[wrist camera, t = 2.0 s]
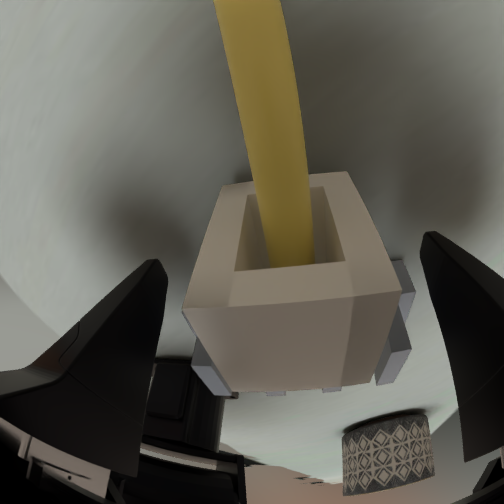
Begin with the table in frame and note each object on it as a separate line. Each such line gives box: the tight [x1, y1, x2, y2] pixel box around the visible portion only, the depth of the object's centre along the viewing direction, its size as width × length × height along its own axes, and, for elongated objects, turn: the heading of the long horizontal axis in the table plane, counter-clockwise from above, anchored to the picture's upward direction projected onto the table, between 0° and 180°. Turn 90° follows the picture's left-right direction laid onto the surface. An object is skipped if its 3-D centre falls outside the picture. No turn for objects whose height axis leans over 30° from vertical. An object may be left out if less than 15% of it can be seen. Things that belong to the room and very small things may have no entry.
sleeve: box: [182, 171, 402, 392], centre depth 8 cm, size 4×4×5 cm
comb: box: [182, 260, 416, 396], centre depth 12 cm, size 3×10×5 cm, turn 101°
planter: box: [342, 414, 435, 496], centre depth 26 cm, size 13×13×10 cm
